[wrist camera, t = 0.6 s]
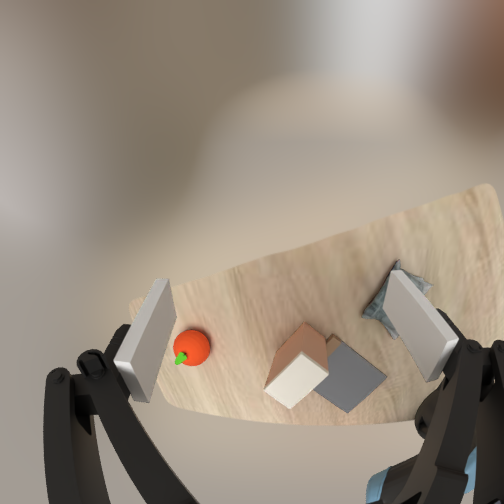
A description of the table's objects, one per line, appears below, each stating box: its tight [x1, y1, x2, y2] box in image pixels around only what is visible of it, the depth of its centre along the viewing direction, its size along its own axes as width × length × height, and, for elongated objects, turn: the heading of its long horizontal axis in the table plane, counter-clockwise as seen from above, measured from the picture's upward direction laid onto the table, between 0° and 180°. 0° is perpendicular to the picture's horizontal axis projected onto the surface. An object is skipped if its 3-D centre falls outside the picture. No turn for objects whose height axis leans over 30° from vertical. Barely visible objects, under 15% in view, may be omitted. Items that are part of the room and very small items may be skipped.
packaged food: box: [362, 260, 434, 340], centre depth 42 cm, size 9×12×5 cm
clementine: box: [173, 330, 210, 366], centre depth 49 cm, size 8×7×7 cm
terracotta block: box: [263, 322, 329, 409], centre depth 42 cm, size 5×8×14 cm, turn 142°
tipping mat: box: [313, 334, 387, 413], centre depth 46 cm, size 15×11×2 cm
